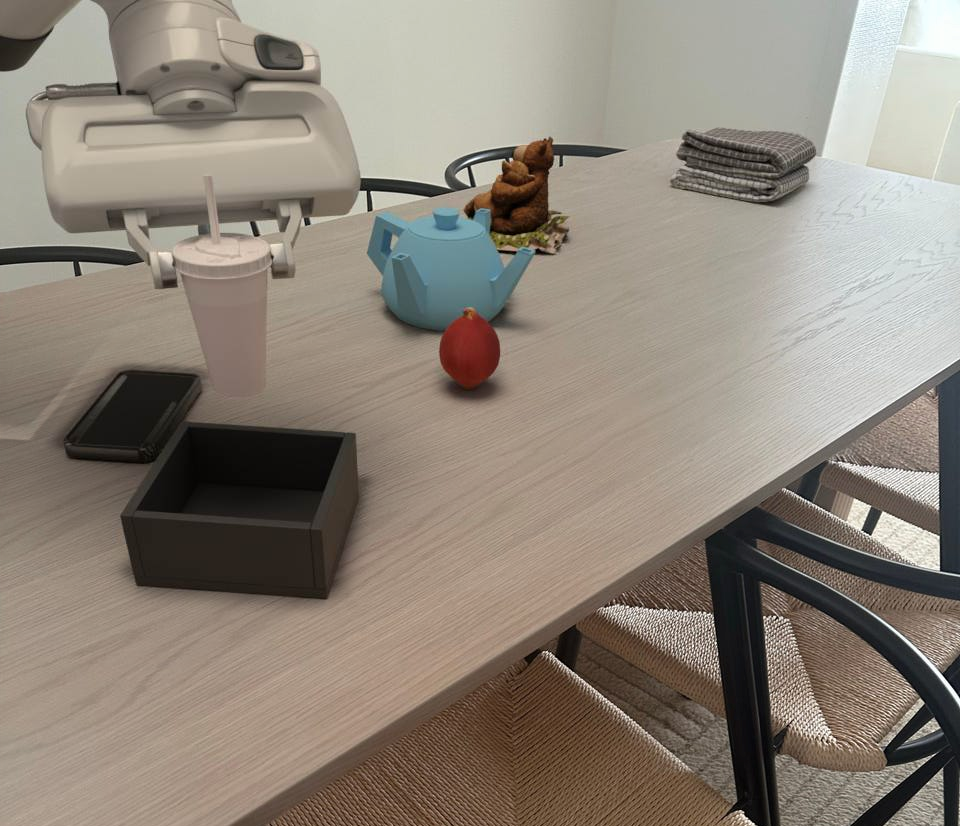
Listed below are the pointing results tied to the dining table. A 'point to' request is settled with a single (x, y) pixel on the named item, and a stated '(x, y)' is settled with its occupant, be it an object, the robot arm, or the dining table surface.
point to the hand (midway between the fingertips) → (227, 279)
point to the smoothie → (227, 302)
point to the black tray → (244, 510)
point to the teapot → (443, 267)
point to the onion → (469, 349)
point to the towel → (743, 163)
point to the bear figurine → (522, 202)
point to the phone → (133, 416)
